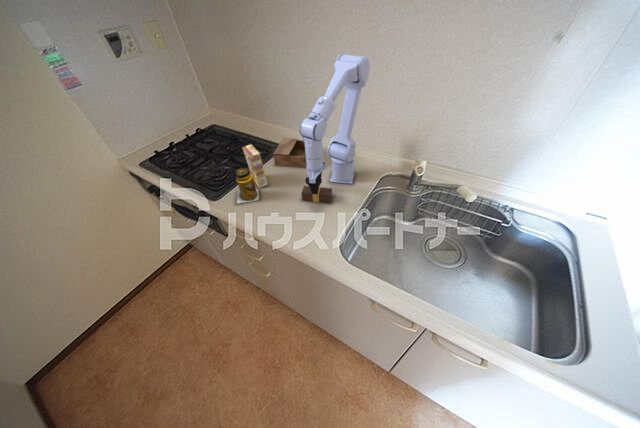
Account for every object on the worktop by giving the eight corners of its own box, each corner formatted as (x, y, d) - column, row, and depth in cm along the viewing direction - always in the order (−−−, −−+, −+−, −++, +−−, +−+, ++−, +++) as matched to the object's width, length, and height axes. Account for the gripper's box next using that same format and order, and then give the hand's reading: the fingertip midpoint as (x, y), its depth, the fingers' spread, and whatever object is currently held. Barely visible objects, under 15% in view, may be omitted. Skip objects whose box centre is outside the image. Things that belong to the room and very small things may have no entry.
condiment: (259, 200, 94) (251, 175, 85) (237, 204, 93) (227, 179, 84) (258, 189, 99) (251, 164, 90) (237, 192, 98) (228, 168, 89)
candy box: (268, 184, 100) (260, 152, 90) (259, 188, 99) (249, 156, 88) (260, 175, 106) (251, 143, 95) (251, 178, 104) (241, 146, 94)
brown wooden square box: (313, 151, 119) (312, 139, 114) (306, 168, 108) (305, 156, 104) (285, 149, 121) (283, 137, 117) (275, 165, 111) (272, 153, 107)
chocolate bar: (305, 193, 95) (304, 185, 92) (332, 196, 93) (331, 188, 90) (302, 200, 92) (301, 192, 89) (330, 203, 90) (329, 195, 88)
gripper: (323, 167, 74) (325, 200, 83) (328, 144, 84) (328, 176, 93) (301, 166, 75) (305, 199, 84) (308, 144, 85) (311, 175, 94)
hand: (316, 187), depth 89 cm, fingers open, 7 cm apart
